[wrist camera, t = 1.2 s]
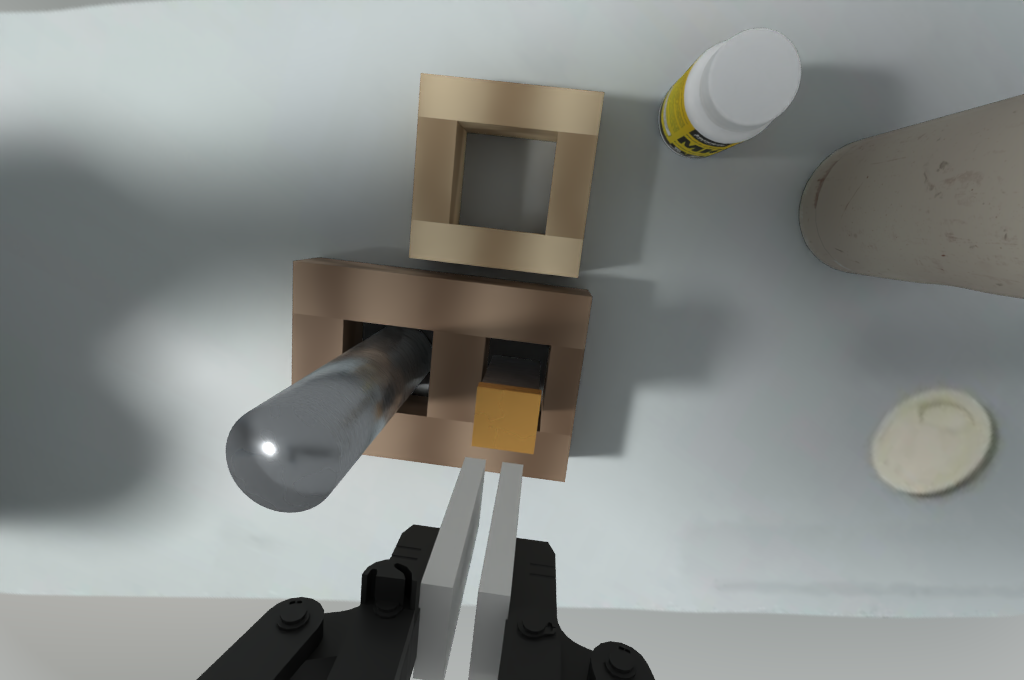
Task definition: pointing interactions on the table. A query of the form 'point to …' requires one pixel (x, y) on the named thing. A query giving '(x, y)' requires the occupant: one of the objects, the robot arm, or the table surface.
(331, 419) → the grey metal cylinder
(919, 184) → the thermos bottle
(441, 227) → the frame
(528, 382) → the key
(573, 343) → the socket block
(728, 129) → the supplement bottle
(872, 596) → the table surface
